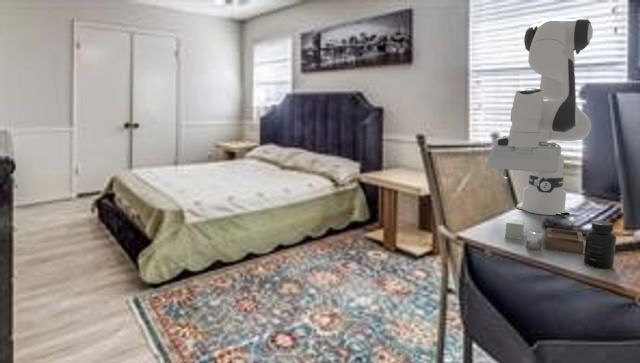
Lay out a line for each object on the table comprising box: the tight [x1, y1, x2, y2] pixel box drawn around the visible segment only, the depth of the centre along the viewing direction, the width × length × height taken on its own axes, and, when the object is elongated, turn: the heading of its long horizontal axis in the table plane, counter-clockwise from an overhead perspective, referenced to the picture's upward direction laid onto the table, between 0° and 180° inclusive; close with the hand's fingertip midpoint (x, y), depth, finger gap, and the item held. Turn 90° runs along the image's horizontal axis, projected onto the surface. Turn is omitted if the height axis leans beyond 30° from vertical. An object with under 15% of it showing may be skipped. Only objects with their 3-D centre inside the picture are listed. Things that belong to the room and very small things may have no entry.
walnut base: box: [544, 227, 585, 255], centre depth 133 cm, size 10×10×4 cm
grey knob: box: [525, 230, 543, 252], centre depth 132 cm, size 4×4×5 cm
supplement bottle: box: [583, 219, 617, 270], centre depth 118 cm, size 7×7×12 cm
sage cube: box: [504, 218, 525, 240], centre depth 143 cm, size 5×5×5 cm
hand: (519, 184), depth 140 cm, fingers open, 8 cm apart
